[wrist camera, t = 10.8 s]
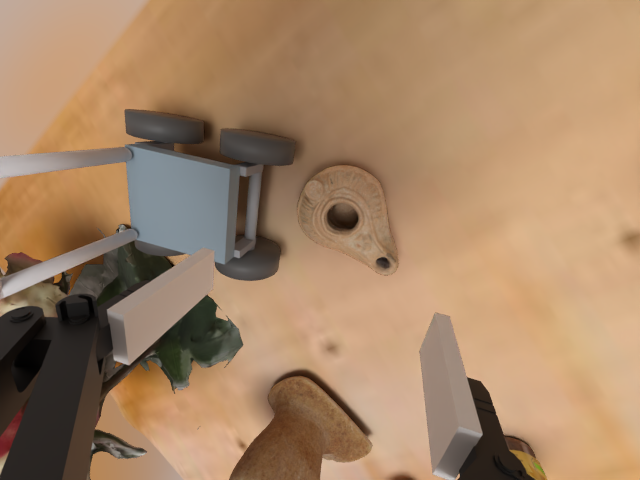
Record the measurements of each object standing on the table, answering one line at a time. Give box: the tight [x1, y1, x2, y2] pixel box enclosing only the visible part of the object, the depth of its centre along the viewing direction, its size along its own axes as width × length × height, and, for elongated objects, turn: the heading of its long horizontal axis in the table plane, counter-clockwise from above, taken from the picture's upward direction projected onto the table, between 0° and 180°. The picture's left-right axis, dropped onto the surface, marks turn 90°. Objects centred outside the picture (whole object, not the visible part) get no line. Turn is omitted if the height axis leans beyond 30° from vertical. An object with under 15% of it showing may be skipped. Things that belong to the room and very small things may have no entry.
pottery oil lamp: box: [297, 165, 399, 276], centre depth 30 cm, size 9×12×7 cm
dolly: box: [0, 109, 296, 299], centre depth 25 cm, size 14×17×21 cm
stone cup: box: [229, 376, 373, 480], centre depth 38 cm, size 15×12×15 cm
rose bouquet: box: [0, 224, 243, 480], centre depth 32 cm, size 26×29×30 cm
